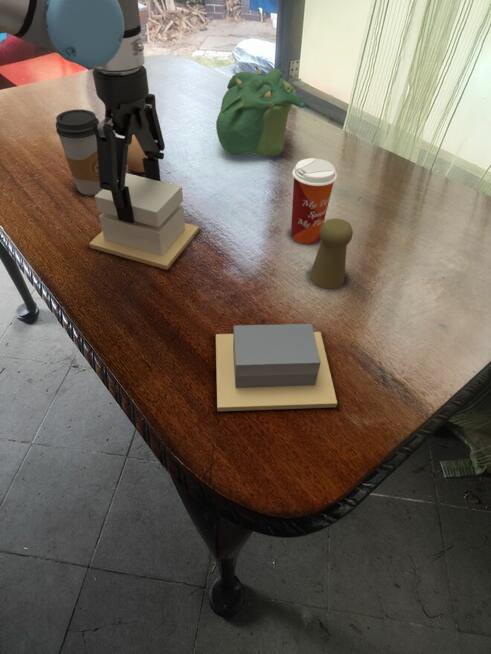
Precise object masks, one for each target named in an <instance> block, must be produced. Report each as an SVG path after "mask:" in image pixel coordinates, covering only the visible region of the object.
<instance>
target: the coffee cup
mask: <svg viewBox="0 0 491 654" xmlns="http://www.w3.org/2000/svg"><path fill="white" fill-rule="evenodd" d="M55 120H56V122H55V128H56V129H55V131H56V134H57V135H58V137H59V140H60V143H61V146H62V149H63V152H64V156H65V158H66V162H67V164H68V168H69V171H70V173H71V176H72V178H73V181H74V184H75V187H76V190H77V191H78V192H79V193H80V194H82V195H84V196H95V195H97V194H98V193H99V192H100V191H101V190H103V189H101V188H100V181H99V167H98V153H97V139H96V136H95V132H94V129H93V123H94V122H95V121H96V122H100V121H99V118H97V116H96V113H95V112H93V111H91V110H87V109H70V110H65V111H63V112H61V113H59V114H57V115H56V117H55Z"/></svg>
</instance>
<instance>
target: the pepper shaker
mask: <svg viewBox="0 0 491 654" xmlns="http://www.w3.org/2000/svg"><path fill="white" fill-rule="evenodd" d="M353 234H354V230H353V227H352V225H351V224H350V222H349V221H347V220H344V219H342V218H329V219H327V220H325V221H324V223H323V225H322V226H321V229H320V238H319V239H320V240H321V242H320V244H319V247H318V250H317V252H316V255H315V259H314V262H313V264H312V266H311V270H310V273H309V278H310V280H311V282H312V283H313V284H314V285H316V286H318V287H320V288H323V289H336V288H339V287H341V286H342V285H343V284H344V282H345V275H346V262H347V250H348V249H347V248H348V245H349V243H350V242H351V240H352V238H353Z"/></svg>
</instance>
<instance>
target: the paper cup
mask: <svg viewBox="0 0 491 654" xmlns="http://www.w3.org/2000/svg"><path fill="white" fill-rule="evenodd" d="M292 177H293V190H292V207H291V208H292V209H291V228H290V229H291V230H290V234H291V238H292V239H293V240H294V241H296V242H298V243H299V244H300V243H301V244H304V245H305V244H306V245H309V244H314V243H316V242H318V241H319V239H321V238H320V229H321V226H322V225H323V223H324V222H325V219H326V215H327V210H328V207H329V203H330V199H331V195H332V191H333V187H334V183H335V181H336V180H337V178H338V175H337V172H336V168H335V166H334V165H333V164H332V163H331V162H329V160H325V159H321V158H314V157H308V158H304V159H301V160H299V161H298V162H297V163H296V164H295V167H294V168H293V169H292Z"/></svg>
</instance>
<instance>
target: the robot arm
mask: <svg viewBox="0 0 491 654" xmlns="http://www.w3.org/2000/svg"><path fill="white" fill-rule="evenodd" d="M139 7H140V6H139V0H0V34H8V35H11V36H14V37H16V38H17V39H19V40H22V41H25V42H27V43H30V44H33V45H36V46H37V47H41V48H44V49H47V50H49V51H52V52H54V53H57V54H58V55H60V57H61V58H62V59H64V60H66V61H67V62H69V63H74V64H76V65H78V66H81V67H84V68H93V69H92V77H93V83H94V88H95V94H96V97H97V98H98V99H99V100H100V101H101V102H102V103H103V105H104V119H102V120H101V121H99V122H96V121H95V122H94V123H93V129H94V132H95V136H96V139H97V153H98V167H99V181H100V188H101V189H104V190H108V191H111V193H112V198H113V202H114V205H115V206H116V211H117V215H118V220H120V221H124V222H128V223H131V224H132V223H133V222H134V216H133V210H132V204H131V199H130V193H129V187H127V186H125V177H126V173H127V167H128V166H127V155H128V146H129V145H130V144H131V143H132V135H133V134H134V135H135V137H136V139H137V141H138V143H139V145H140V147H141V148H142V150H143V152H144V154H145V156H147V157H148V158H145V157H144V158H143V159H142V160H143V167H144V172H143V173H144V178H149V179H153V180H157V181H161V173H160V172H161V170H160V162H159V161H160V160H164V158H165V153H164V152H163V151H165V149H166V144H165V141H164V137H163V133H162V128H161V125H160V121H159V116H158V112H157V103H156V95H155V94H153V93H150V89H149V81H148V80H149V79H148V72H147V68H146V67H145V66H144V64H145V63H146V58H145V50H144V49H145V45H144V43H143V37H142V26H141V15H140V8H139ZM117 135H118V136H121V137H118V136H117ZM154 140H156V141H157V142H155V141H154ZM117 180H118V181H117ZM161 182H162V181H161Z"/></svg>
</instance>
